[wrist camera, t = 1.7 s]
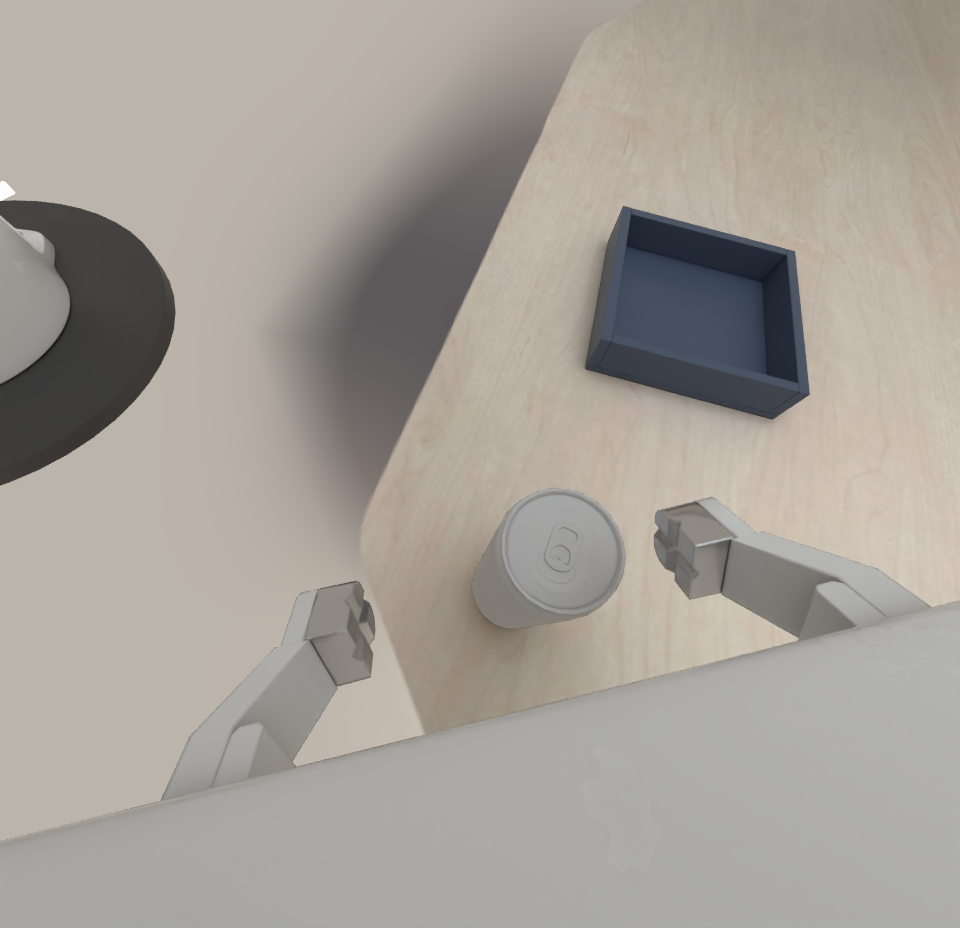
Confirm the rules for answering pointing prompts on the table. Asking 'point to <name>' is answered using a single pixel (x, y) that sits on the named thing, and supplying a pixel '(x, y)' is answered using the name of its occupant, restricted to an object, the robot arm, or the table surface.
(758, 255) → the tray
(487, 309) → the table surface
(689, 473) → the table surface
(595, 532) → the beverage can
